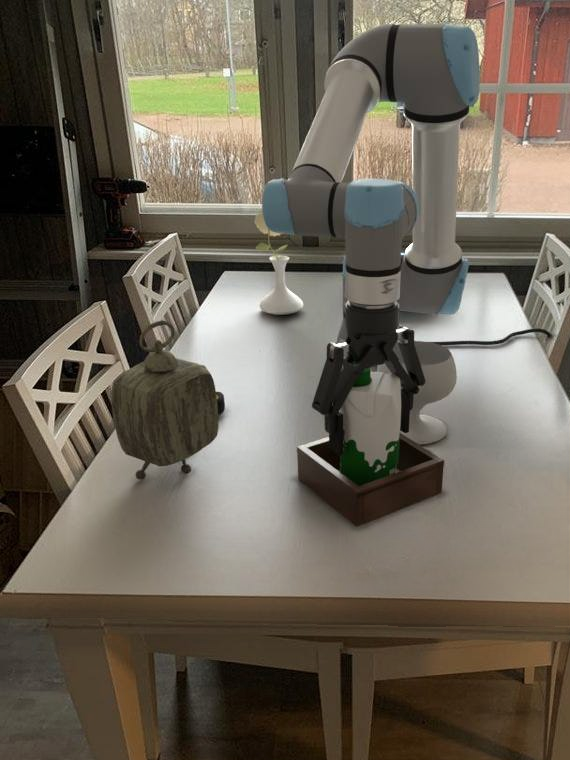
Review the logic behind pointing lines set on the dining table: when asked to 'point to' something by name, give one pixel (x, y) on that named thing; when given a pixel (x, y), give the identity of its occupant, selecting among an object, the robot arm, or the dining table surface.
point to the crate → (376, 497)
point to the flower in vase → (277, 278)
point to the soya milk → (371, 427)
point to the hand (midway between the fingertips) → (369, 440)
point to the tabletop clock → (164, 407)
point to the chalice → (428, 389)
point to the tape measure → (220, 402)
